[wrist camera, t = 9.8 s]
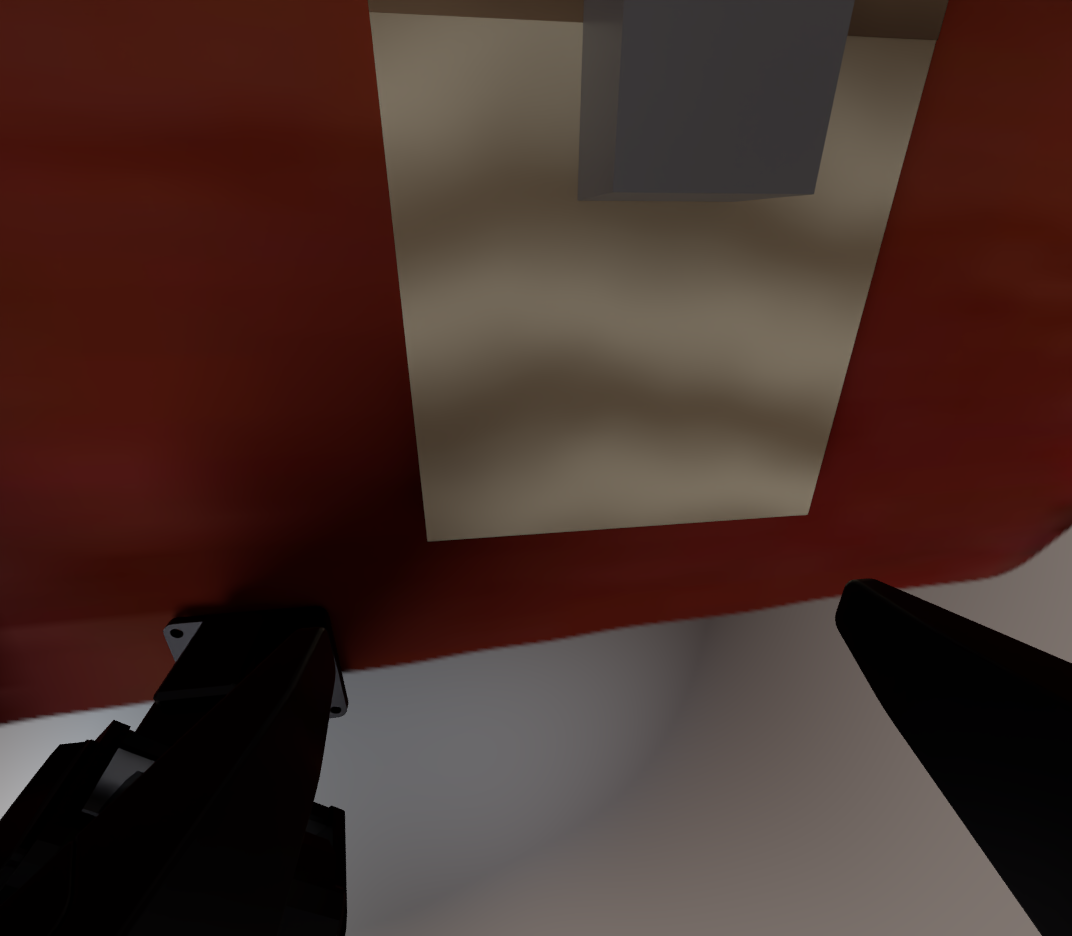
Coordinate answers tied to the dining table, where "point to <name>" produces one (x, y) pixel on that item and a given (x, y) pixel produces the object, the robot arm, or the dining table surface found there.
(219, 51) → the dining table surface
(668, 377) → the board
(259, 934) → the robot arm
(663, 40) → the block
